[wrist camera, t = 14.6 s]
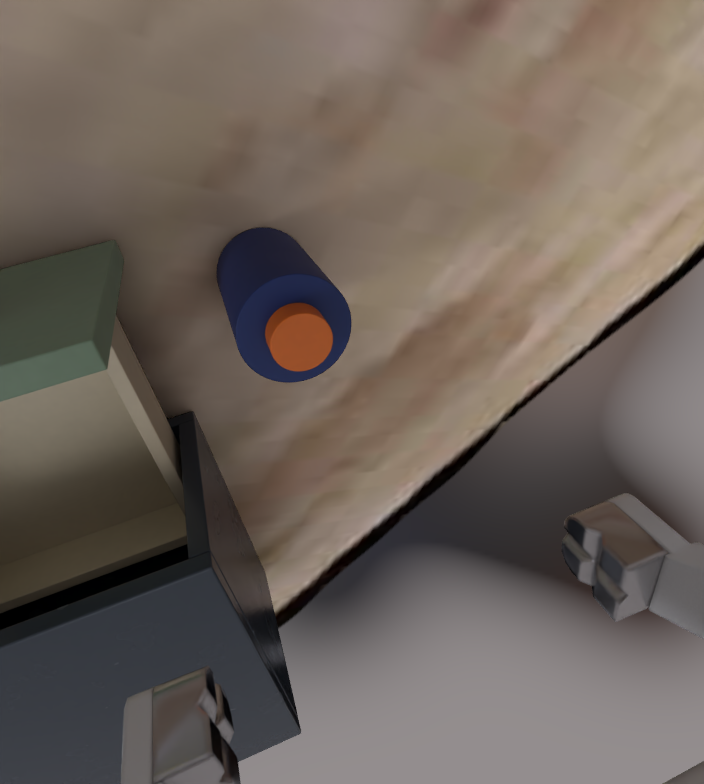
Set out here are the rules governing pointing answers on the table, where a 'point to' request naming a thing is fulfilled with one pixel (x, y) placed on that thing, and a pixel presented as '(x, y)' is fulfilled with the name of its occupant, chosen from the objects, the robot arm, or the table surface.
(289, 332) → the glue bottle
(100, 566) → the drawer
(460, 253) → the table surface
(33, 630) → the drawer unit
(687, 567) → the robot arm
